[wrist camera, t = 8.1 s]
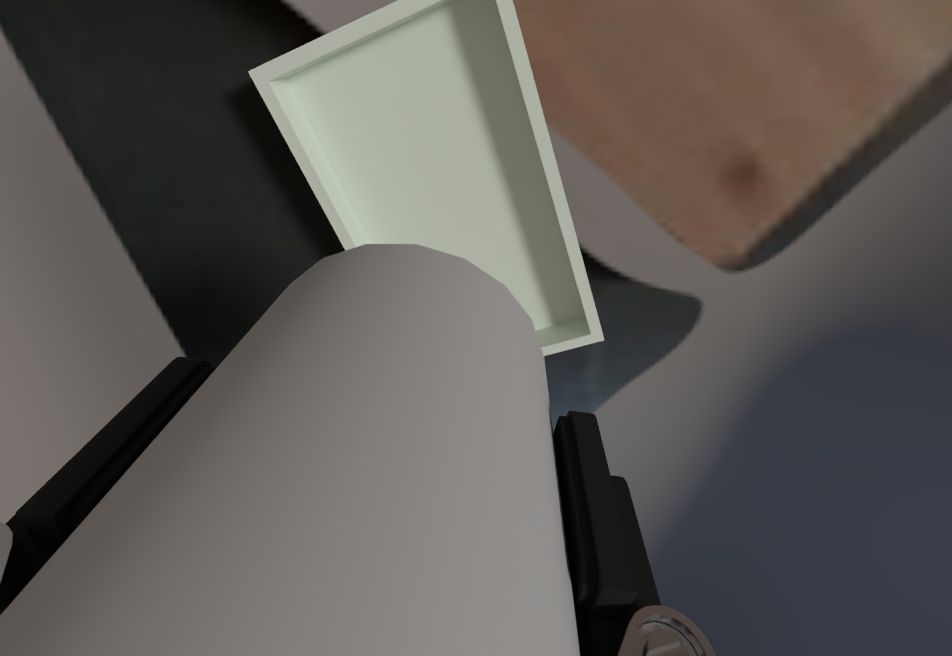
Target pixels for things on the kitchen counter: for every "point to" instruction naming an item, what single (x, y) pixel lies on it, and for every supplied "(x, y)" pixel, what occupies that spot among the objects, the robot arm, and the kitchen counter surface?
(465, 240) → the tray
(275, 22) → the kitchen counter surface
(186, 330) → the kitchen counter surface
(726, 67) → the kitchen counter surface
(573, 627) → the can
